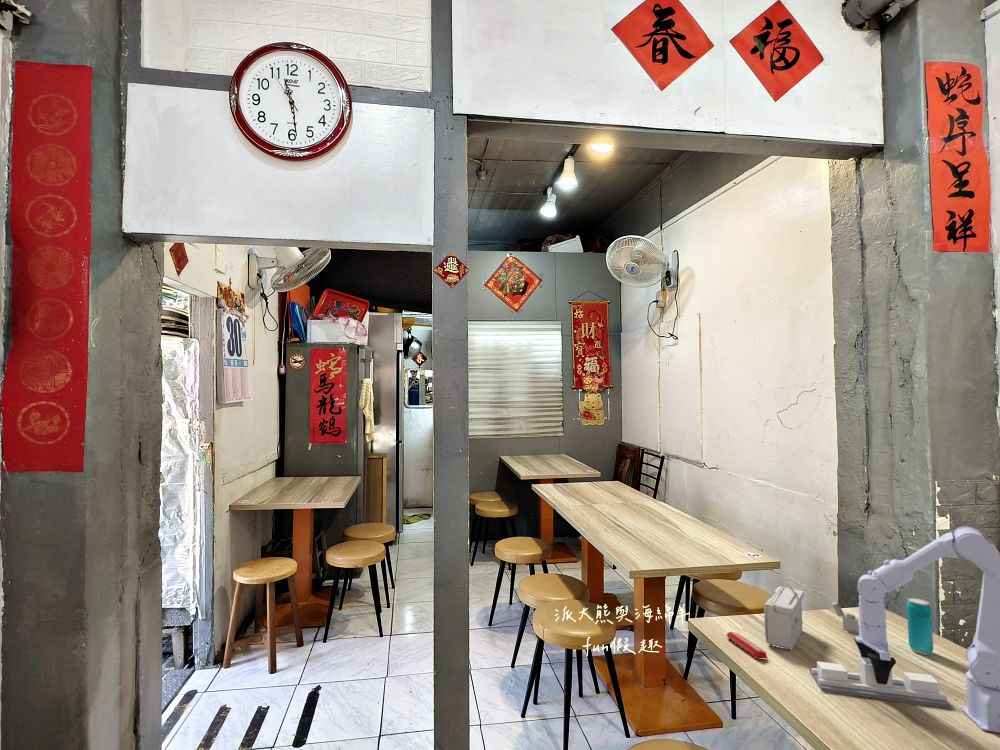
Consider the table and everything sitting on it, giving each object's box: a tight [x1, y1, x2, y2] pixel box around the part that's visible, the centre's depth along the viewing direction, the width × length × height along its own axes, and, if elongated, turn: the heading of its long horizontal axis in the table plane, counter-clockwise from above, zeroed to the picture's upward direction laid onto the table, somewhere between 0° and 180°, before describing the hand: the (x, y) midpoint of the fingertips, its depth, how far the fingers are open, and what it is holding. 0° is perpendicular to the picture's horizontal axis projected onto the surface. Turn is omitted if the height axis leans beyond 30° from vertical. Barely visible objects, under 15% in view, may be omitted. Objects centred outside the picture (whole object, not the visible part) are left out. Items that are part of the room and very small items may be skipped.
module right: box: [902, 671, 940, 694], centre depth 131 cm, size 4×6×4 cm, turn 74°
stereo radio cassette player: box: [763, 583, 805, 651], centre depth 164 cm, size 21×8×20 cm, turn 141°
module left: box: [816, 661, 848, 682], centre depth 137 cm, size 4×6×4 cm, turn 74°
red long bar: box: [726, 631, 769, 660], centre depth 156 cm, size 16×4×3 cm, turn 11°
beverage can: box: [906, 597, 934, 656], centre depth 155 cm, size 6×6×15 cm
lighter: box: [831, 601, 860, 634], centre depth 171 cm, size 7×2×8 cm, turn 38°
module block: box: [858, 656, 893, 688], centre depth 134 cm, size 4×6×6 cm, turn 73°
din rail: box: [809, 667, 952, 710], centre depth 134 cm, size 10×28×2 cm, turn 74°
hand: (875, 676), depth 134 cm, fingers open, 7 cm apart
